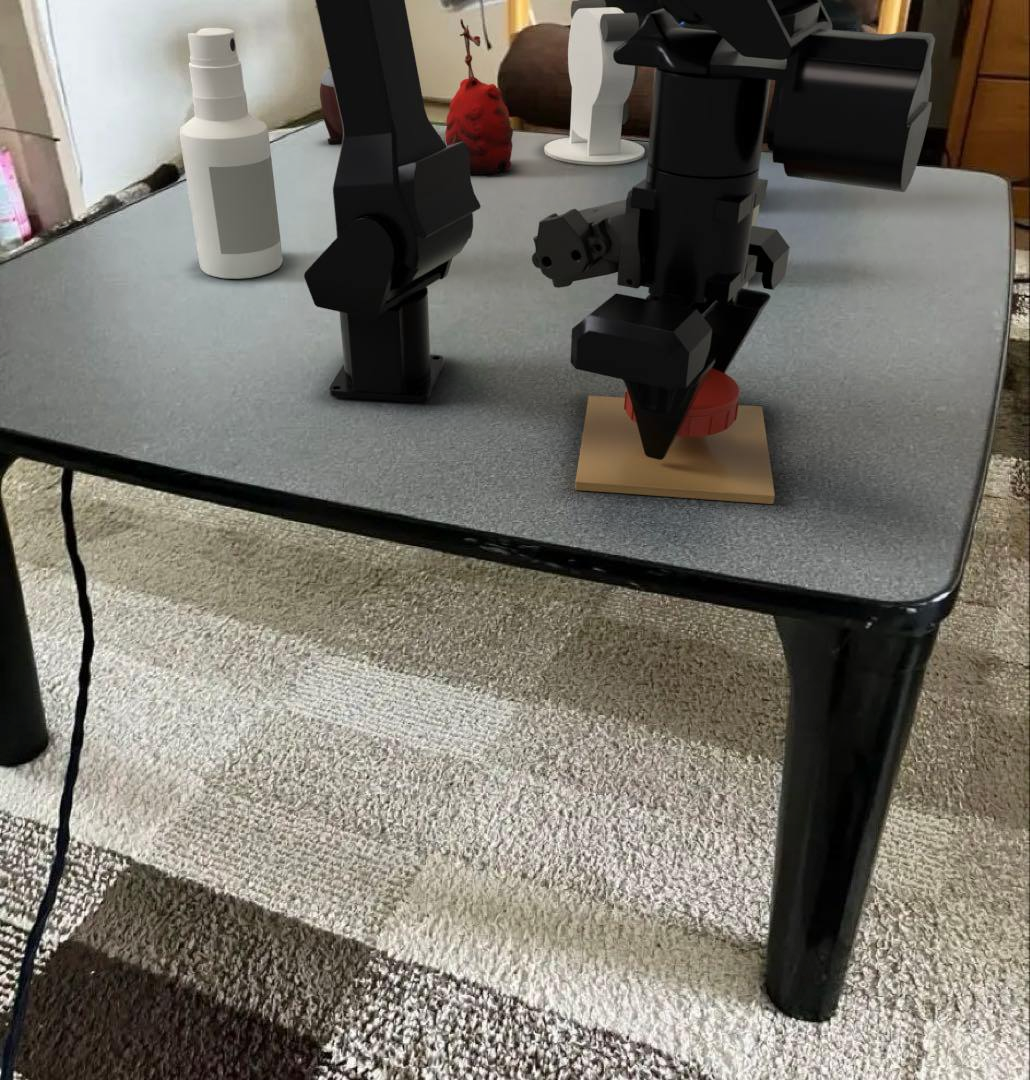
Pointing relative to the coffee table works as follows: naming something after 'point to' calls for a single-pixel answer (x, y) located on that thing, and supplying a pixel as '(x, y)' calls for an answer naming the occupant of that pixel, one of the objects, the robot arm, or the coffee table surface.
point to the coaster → (675, 458)
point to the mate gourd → (330, 108)
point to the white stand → (598, 87)
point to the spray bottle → (228, 166)
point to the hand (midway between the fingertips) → (675, 433)
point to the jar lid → (707, 407)
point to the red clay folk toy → (480, 120)
